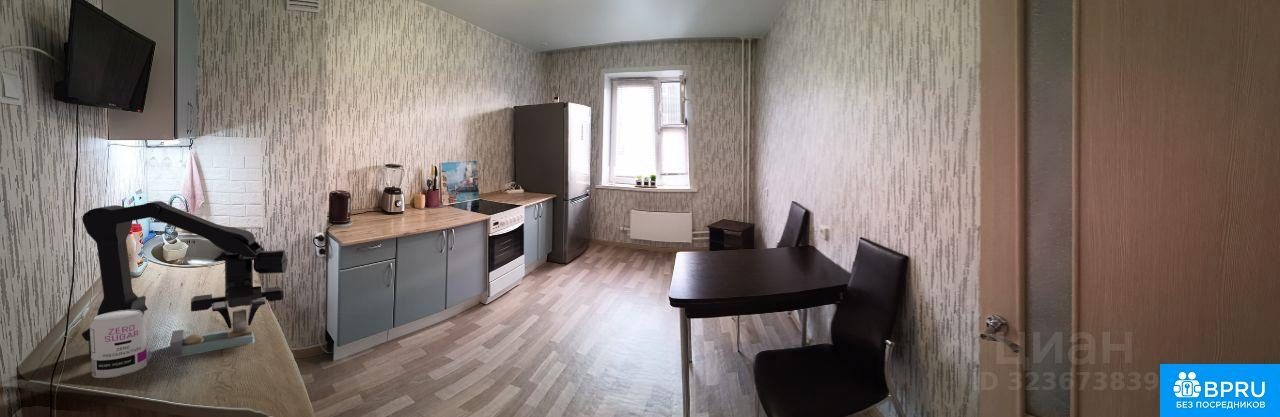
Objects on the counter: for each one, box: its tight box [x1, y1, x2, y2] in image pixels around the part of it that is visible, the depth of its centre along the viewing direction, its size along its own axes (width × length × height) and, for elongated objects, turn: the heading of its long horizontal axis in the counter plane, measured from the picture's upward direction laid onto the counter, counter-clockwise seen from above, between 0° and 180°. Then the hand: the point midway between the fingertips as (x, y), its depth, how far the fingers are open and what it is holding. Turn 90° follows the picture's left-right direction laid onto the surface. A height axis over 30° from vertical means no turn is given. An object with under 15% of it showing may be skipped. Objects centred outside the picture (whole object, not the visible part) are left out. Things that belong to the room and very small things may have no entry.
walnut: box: [184, 333, 203, 346], centre depth 111 cm, size 4×4×4 cm
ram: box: [226, 309, 253, 339], centre depth 117 cm, size 5×5×8 cm
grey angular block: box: [169, 329, 185, 358], centre depth 109 cm, size 2×9×4 cm, turn 47°
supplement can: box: [89, 310, 148, 379], centre depth 98 cm, size 8×8×15 cm
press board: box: [170, 329, 256, 359], centre depth 114 cm, size 16×10×3 cm, turn 137°
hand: (239, 326), depth 117 cm, fingers open, 4 cm apart
